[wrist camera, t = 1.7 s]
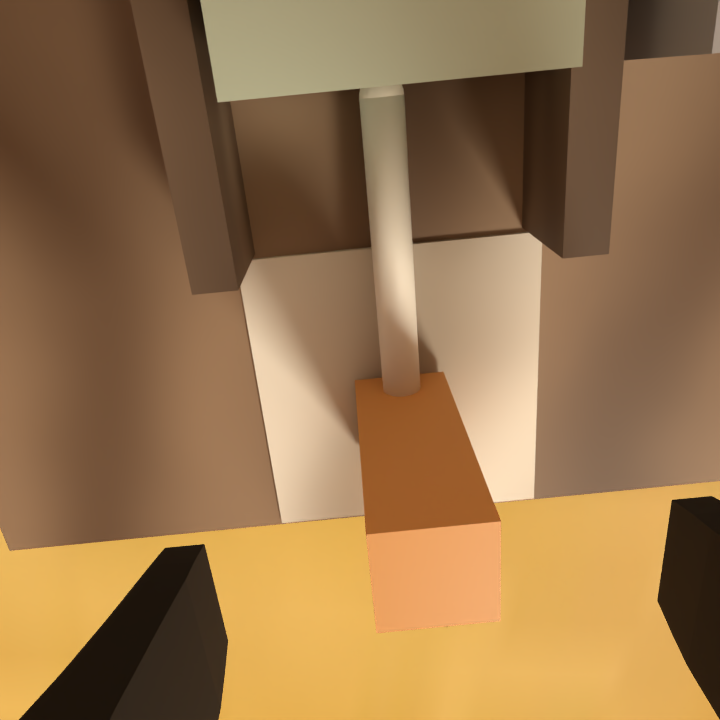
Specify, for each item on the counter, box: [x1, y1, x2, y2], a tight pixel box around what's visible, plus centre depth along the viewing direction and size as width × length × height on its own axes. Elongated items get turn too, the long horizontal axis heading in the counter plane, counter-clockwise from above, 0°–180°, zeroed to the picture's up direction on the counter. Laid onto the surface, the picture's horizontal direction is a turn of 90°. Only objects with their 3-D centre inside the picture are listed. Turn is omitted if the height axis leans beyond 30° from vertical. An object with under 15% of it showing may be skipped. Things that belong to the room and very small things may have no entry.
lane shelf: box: [0, 0, 720, 551], centre depth 11 cm, size 20×18×4 cm
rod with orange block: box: [200, 0, 586, 633], centre depth 9 cm, size 5×14×5 cm, turn 5°
